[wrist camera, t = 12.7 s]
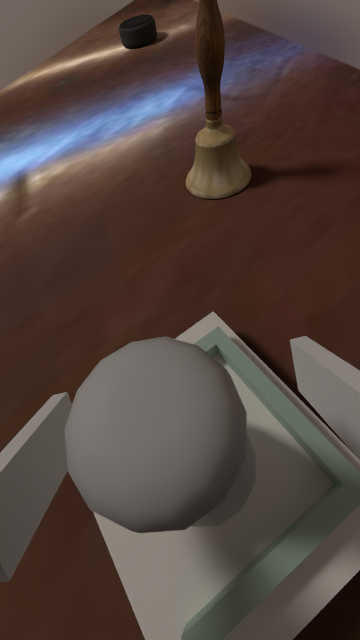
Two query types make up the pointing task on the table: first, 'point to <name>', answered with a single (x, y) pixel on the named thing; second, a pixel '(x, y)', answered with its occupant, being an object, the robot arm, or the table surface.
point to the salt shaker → (160, 439)
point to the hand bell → (214, 117)
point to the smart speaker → (138, 31)
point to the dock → (252, 524)
